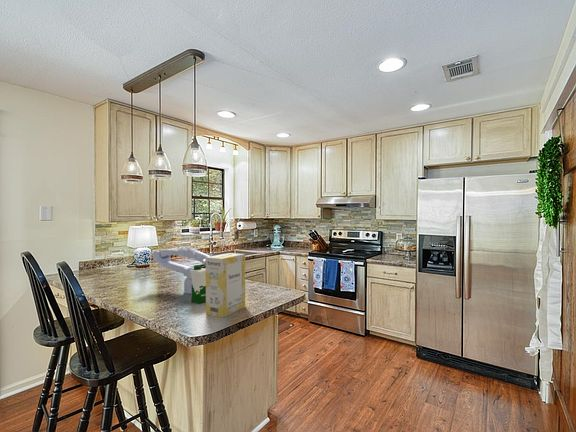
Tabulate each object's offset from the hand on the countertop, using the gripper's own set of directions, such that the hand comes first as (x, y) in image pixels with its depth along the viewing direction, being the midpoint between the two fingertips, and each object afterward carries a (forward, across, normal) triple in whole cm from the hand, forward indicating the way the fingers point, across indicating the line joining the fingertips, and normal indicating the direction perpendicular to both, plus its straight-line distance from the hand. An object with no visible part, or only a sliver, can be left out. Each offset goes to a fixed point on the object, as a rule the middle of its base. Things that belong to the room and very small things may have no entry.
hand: (221, 265), depth 178 cm
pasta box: (+22, -22, +14) cm, 34 cm away
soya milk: (+1, -14, +20) cm, 24 cm away
